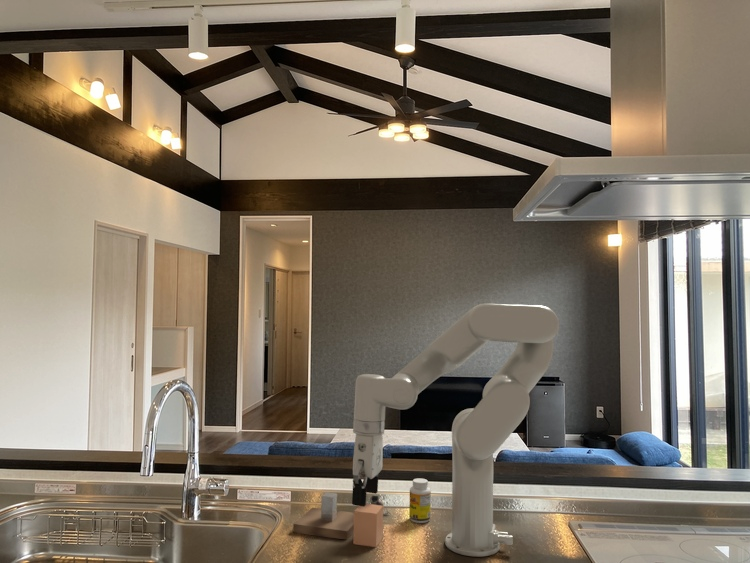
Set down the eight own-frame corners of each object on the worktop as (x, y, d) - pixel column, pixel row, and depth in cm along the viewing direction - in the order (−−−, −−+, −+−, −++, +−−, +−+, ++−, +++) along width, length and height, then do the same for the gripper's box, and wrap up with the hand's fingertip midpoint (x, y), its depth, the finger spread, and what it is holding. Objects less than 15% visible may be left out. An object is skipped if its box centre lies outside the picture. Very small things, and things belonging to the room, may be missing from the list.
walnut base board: (362, 521, 143) (362, 513, 144) (347, 539, 132) (347, 531, 132) (312, 515, 147) (312, 507, 147) (293, 532, 136) (293, 523, 136)
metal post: (336, 517, 141) (336, 493, 141) (332, 521, 138) (332, 497, 138) (325, 515, 142) (325, 492, 142) (321, 520, 139) (321, 495, 139)
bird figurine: (381, 522, 143) (380, 498, 144) (363, 519, 146) (362, 496, 147) (391, 515, 148) (390, 492, 149) (374, 513, 151) (372, 490, 151)
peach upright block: (382, 537, 133) (383, 505, 134) (376, 547, 128) (376, 513, 128) (360, 534, 135) (361, 503, 135) (353, 543, 130) (353, 510, 130)
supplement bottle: (406, 517, 147) (406, 478, 148) (425, 515, 149) (425, 476, 149) (413, 525, 142) (414, 484, 142) (433, 522, 143) (434, 482, 144)
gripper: (373, 435, 124) (369, 513, 123) (392, 421, 140) (389, 490, 139) (342, 431, 126) (337, 508, 125) (364, 418, 142) (361, 486, 141)
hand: (365, 498), depth 132 cm, fingers open, 9 cm apart
